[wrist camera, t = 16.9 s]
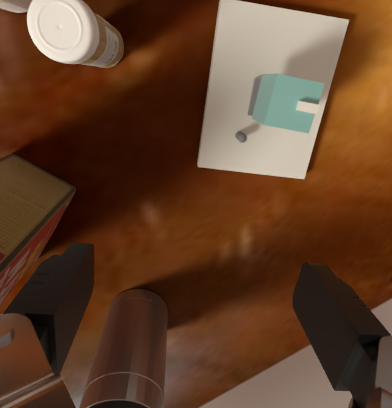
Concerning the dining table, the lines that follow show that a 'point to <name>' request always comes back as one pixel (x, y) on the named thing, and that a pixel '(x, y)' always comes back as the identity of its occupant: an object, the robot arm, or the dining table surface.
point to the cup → (15, 5)
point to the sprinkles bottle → (73, 33)
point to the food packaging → (26, 216)
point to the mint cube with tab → (287, 102)
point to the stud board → (250, 81)
